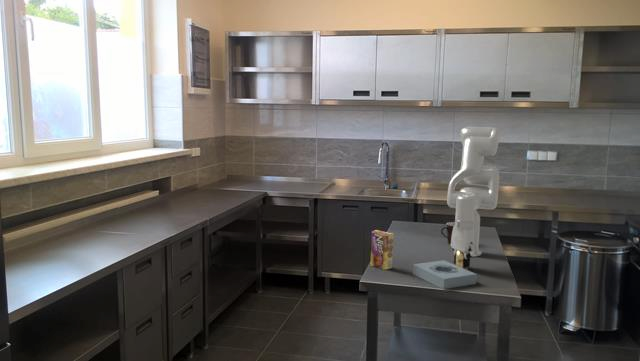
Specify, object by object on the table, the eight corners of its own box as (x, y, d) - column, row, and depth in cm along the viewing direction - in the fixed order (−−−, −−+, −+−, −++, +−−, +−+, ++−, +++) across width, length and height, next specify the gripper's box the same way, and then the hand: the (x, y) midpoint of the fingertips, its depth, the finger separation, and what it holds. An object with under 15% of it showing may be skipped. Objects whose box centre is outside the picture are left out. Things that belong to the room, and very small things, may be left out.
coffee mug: (461, 241, 273) (462, 222, 272) (464, 246, 265) (465, 226, 263) (438, 240, 274) (439, 221, 273) (440, 244, 266) (441, 225, 264)
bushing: (453, 267, 228) (454, 249, 227) (462, 266, 230) (463, 248, 229) (460, 270, 224) (461, 252, 223) (469, 269, 226) (471, 251, 225)
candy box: (392, 268, 226) (394, 233, 223) (386, 270, 222) (388, 234, 220) (376, 263, 232) (377, 229, 229) (370, 265, 228) (371, 231, 226)
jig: (412, 273, 218) (412, 264, 218) (443, 269, 225) (444, 260, 225) (443, 289, 201) (443, 278, 200) (476, 283, 207) (476, 274, 207)
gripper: (444, 220, 230) (441, 261, 233) (470, 229, 215) (468, 272, 218) (457, 219, 233) (455, 259, 236) (485, 227, 218) (482, 270, 221)
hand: (461, 265), depth 227 cm, fingers closed on bushing, 5 cm apart
